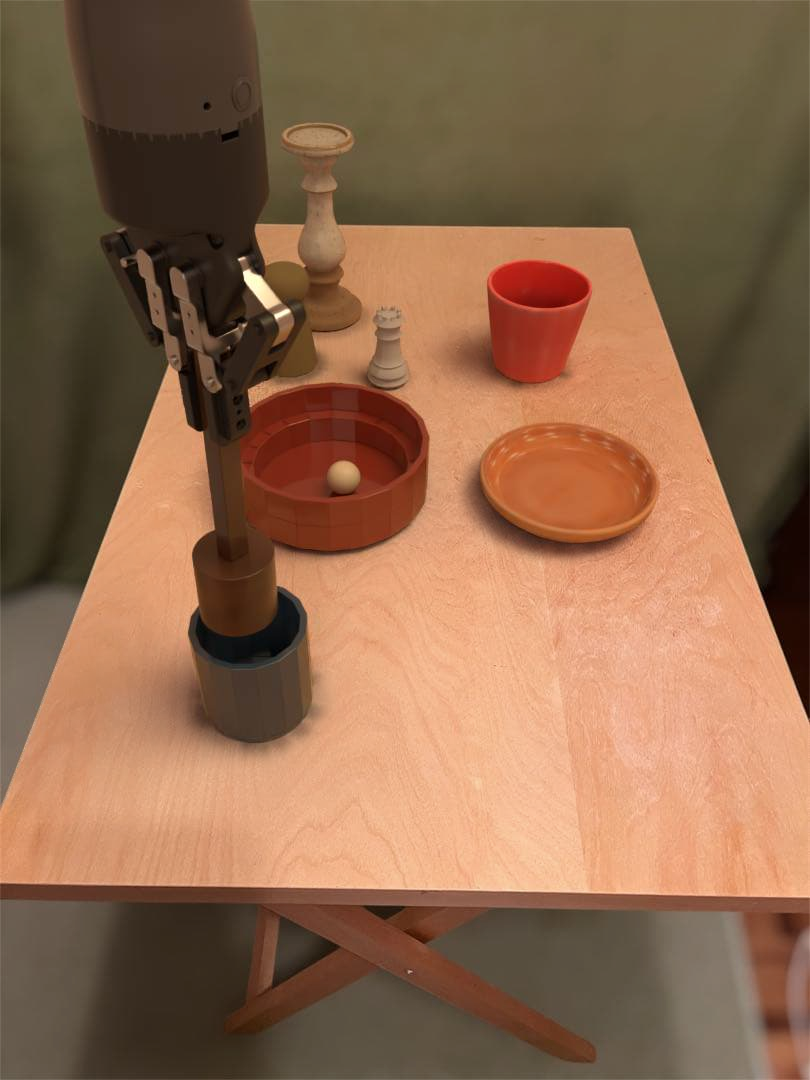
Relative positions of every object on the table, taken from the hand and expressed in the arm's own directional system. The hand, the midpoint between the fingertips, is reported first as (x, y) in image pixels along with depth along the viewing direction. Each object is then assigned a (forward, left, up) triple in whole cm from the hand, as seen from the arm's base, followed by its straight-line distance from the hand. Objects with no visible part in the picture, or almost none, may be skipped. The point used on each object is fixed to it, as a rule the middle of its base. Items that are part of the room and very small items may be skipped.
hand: (219, 430), depth 50 cm
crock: (0, 0, -24) cm, 24 cm away
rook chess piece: (+37, +22, -24) cm, 49 cm away
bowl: (+20, +13, -24) cm, 34 cm away
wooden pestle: (0, 0, -14) cm, 14 cm away
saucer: (+34, -3, -24) cm, 42 cm away
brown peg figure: (+32, +32, -24) cm, 51 cm away
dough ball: (+20, +12, -22) cm, 32 cm away
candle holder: (+42, +37, -24) cm, 61 cm away
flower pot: (+50, +13, -24) cm, 57 cm away
